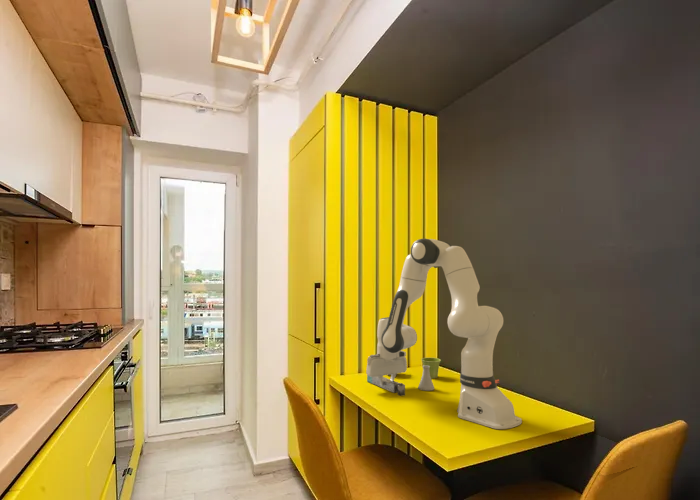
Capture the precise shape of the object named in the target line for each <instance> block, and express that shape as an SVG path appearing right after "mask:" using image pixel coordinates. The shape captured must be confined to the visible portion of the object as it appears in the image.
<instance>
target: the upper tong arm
mask: <svg viewBox="0 0 700 500" xmlns="http://www.w3.org/2000/svg"><path fill="white" fill-rule="evenodd" d="M366 377H367V378H366V381H367V383H370V384H373V385H374V386H377V387H379V388H382V389H385V391H386V390H387V391H389V392H391V393H393V394H395V393H397V384H395V383H392V382H390V381H387V380H385V379H382V380H383V381H385V383H384V384H385V385H383V386H381V385H380V381H379V379H378V377H377V376H376V377H370V376H368V375H367V374H366Z"/></svg>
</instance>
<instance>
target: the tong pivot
mask: <svg viewBox="0 0 700 500" xmlns="http://www.w3.org/2000/svg"><path fill="white" fill-rule="evenodd" d="M399 383H400V384H398V385H397V396H401V397H402V396H405V395H406V384H405V383H402V382H399Z"/></svg>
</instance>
